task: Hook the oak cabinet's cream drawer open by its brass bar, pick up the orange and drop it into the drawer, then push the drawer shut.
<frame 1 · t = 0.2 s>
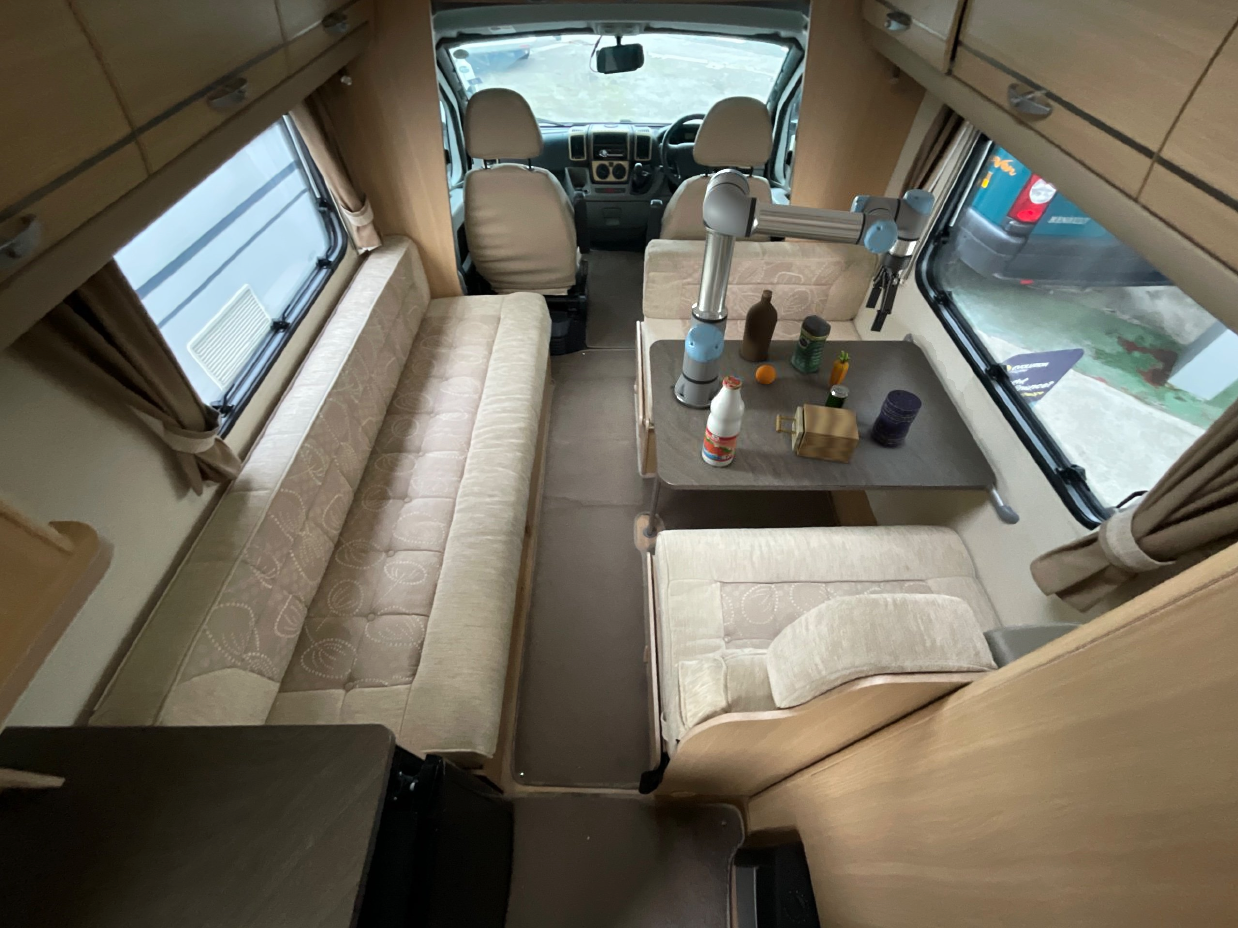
hand: (872, 319, 169), 28 cm above the table, tool pointing down, fingers open, 13 cm apart
beer can: (828, 419, 179), on the table
fruit juice: (717, 456, 166), on the table
storage jar: (885, 437, 174), on the table
orange: (765, 374, 190), point 3 cm above the table
carrot: (831, 390, 190), on the table
coffee jar: (804, 366, 199), on the table
drawer: (808, 430, 168), point 5 cm above the table, slide at 0.5 cm
olive oil: (753, 355, 204), on the table
cabinet: (821, 444, 170), on the table
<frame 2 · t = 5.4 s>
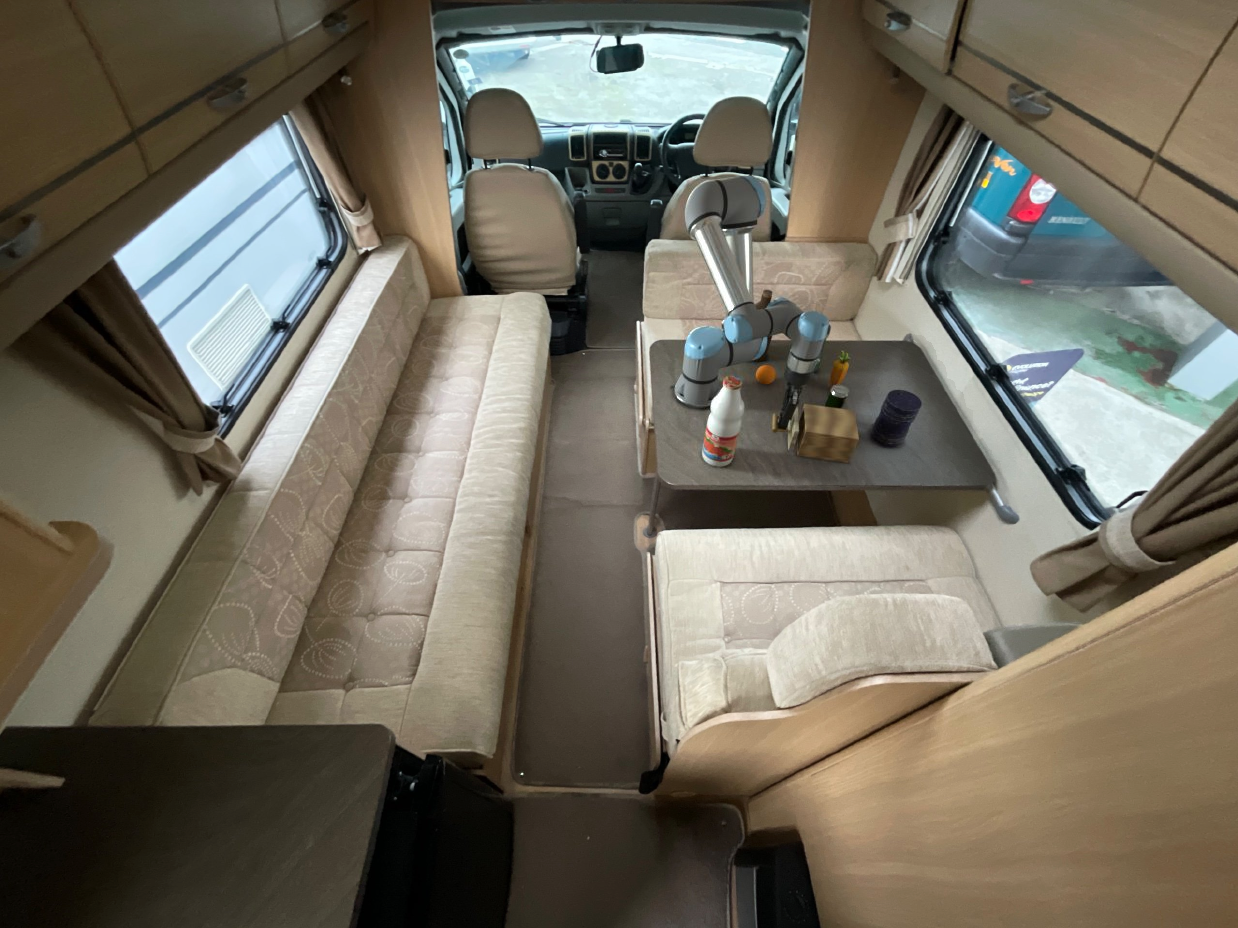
hand: (780, 430, 170), 3 cm above the table, tool pointing down, fingers closed
drawer: (804, 430, 168), point 5 cm above the table, slide at 1.7 cm
everything else where it was.
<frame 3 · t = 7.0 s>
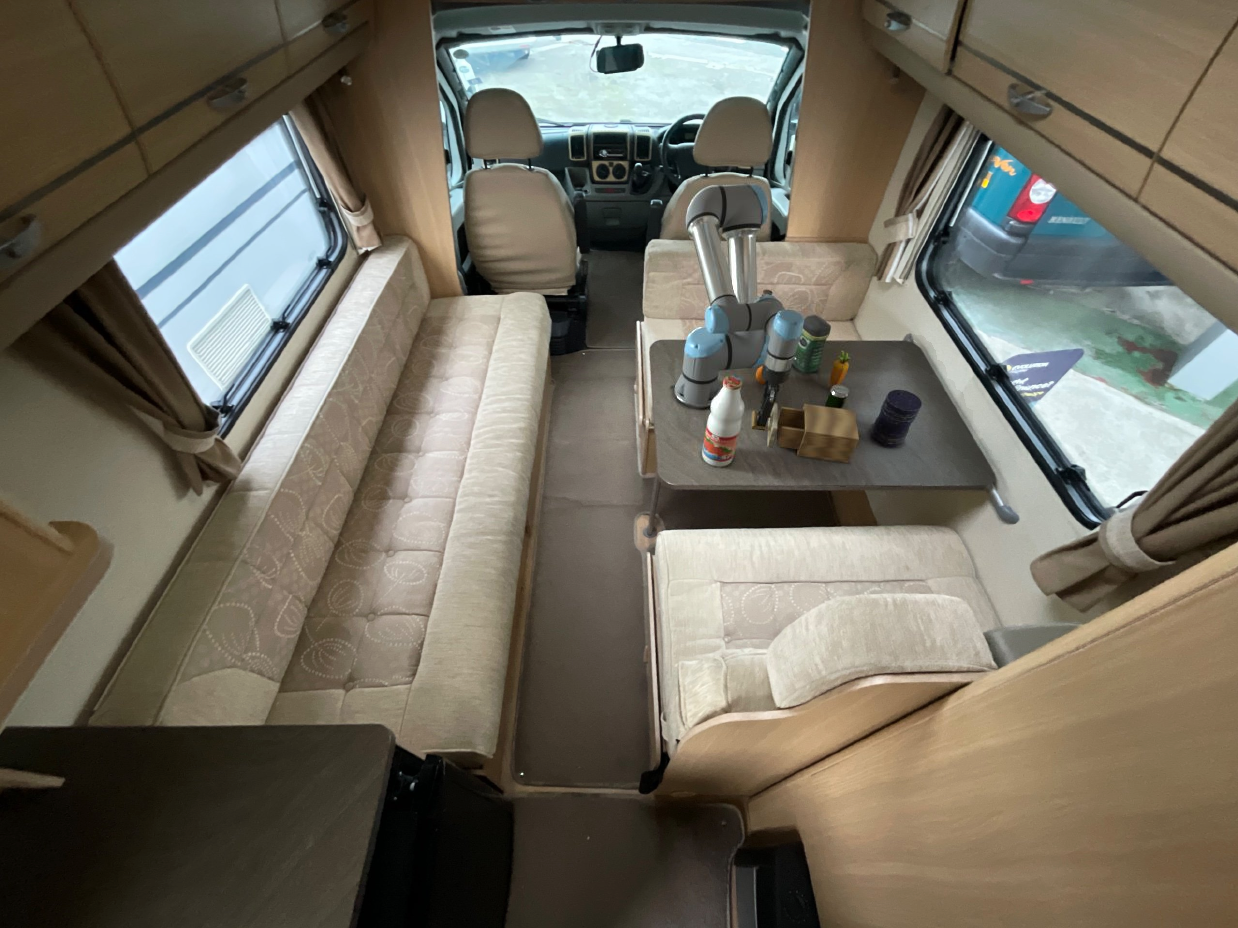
hand: (760, 428, 171), 3 cm above the table, tool pointing down, fingers closed
drawer: (783, 426, 169), point 5 cm above the table, slide at 7.9 cm
everything else where it was.
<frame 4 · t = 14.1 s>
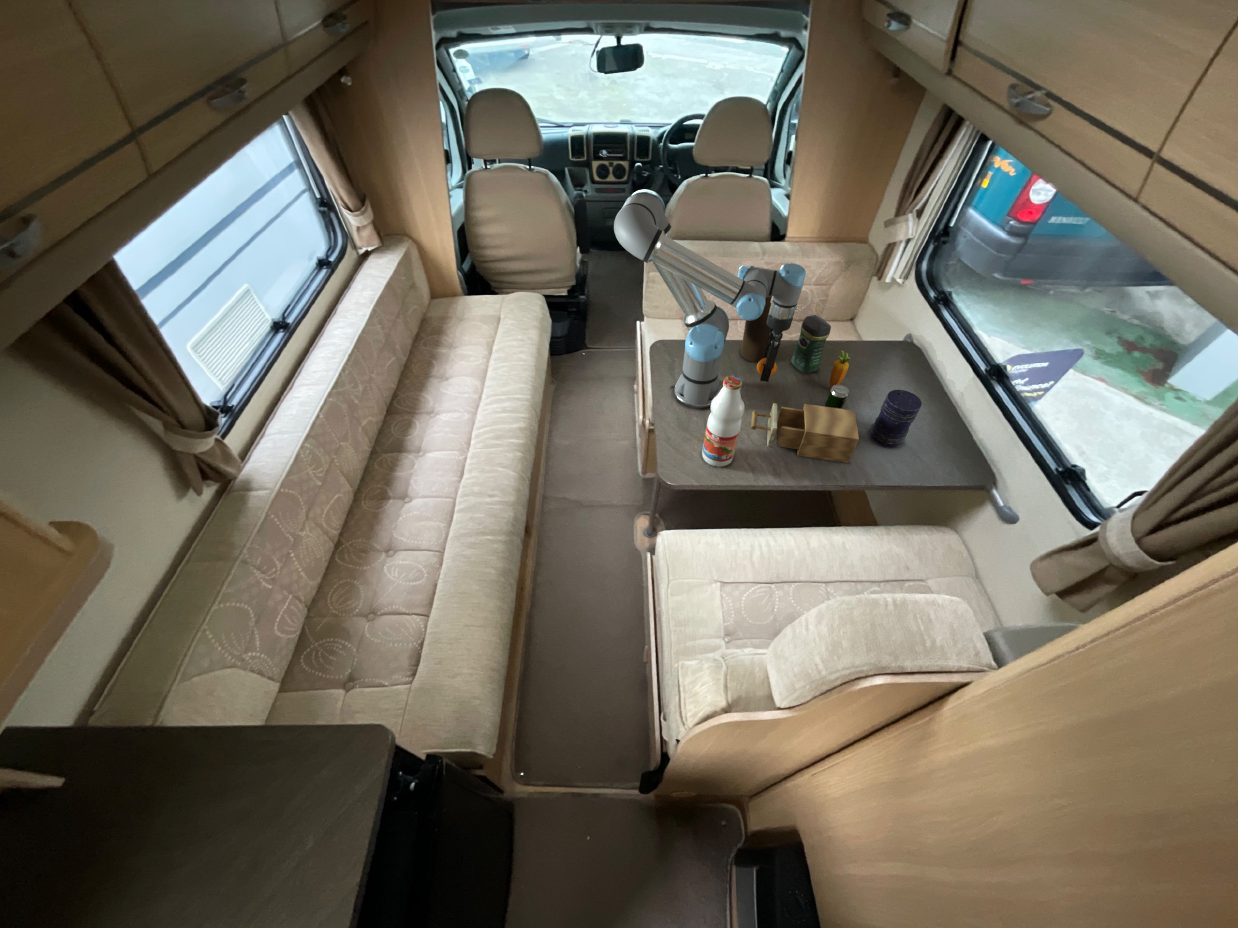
hand: (764, 374, 190), 3 cm above the table, tool pointing down, fingers closed on orange, 6 cm apart
orange: (766, 367, 188), point 6 cm above the table, touching gripper
everything else where it was.
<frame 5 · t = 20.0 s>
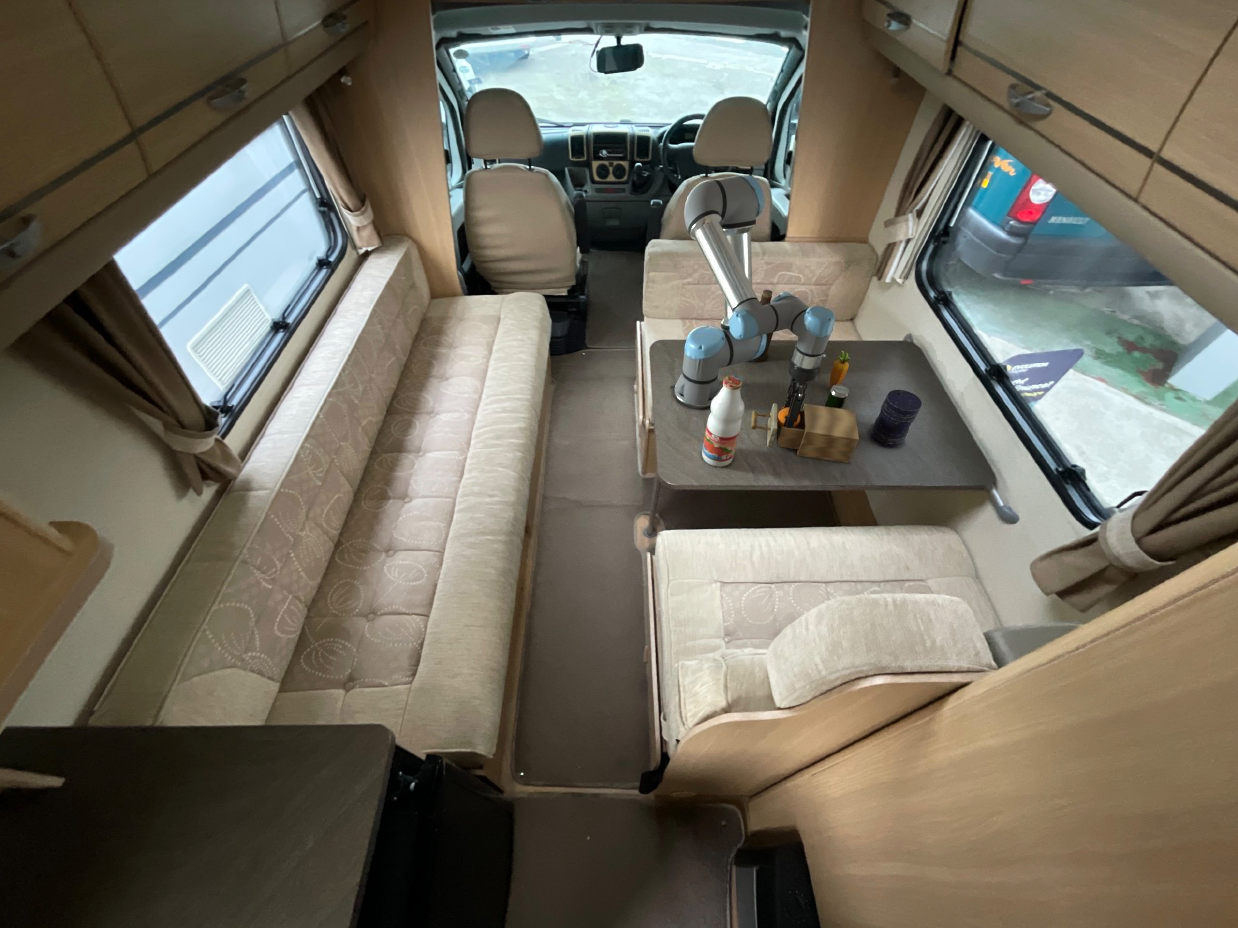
hand: (785, 425, 168), 6 cm above the table, tool pointing down, fingers closed on orange, 6 cm apart
orange: (788, 418, 166), point 8 cm above the table, touching gripper
everything else where it was.
when the fingers open (9 cm above the table, at t = 34.6 s): orange drops 6 cm, resting on drawer.
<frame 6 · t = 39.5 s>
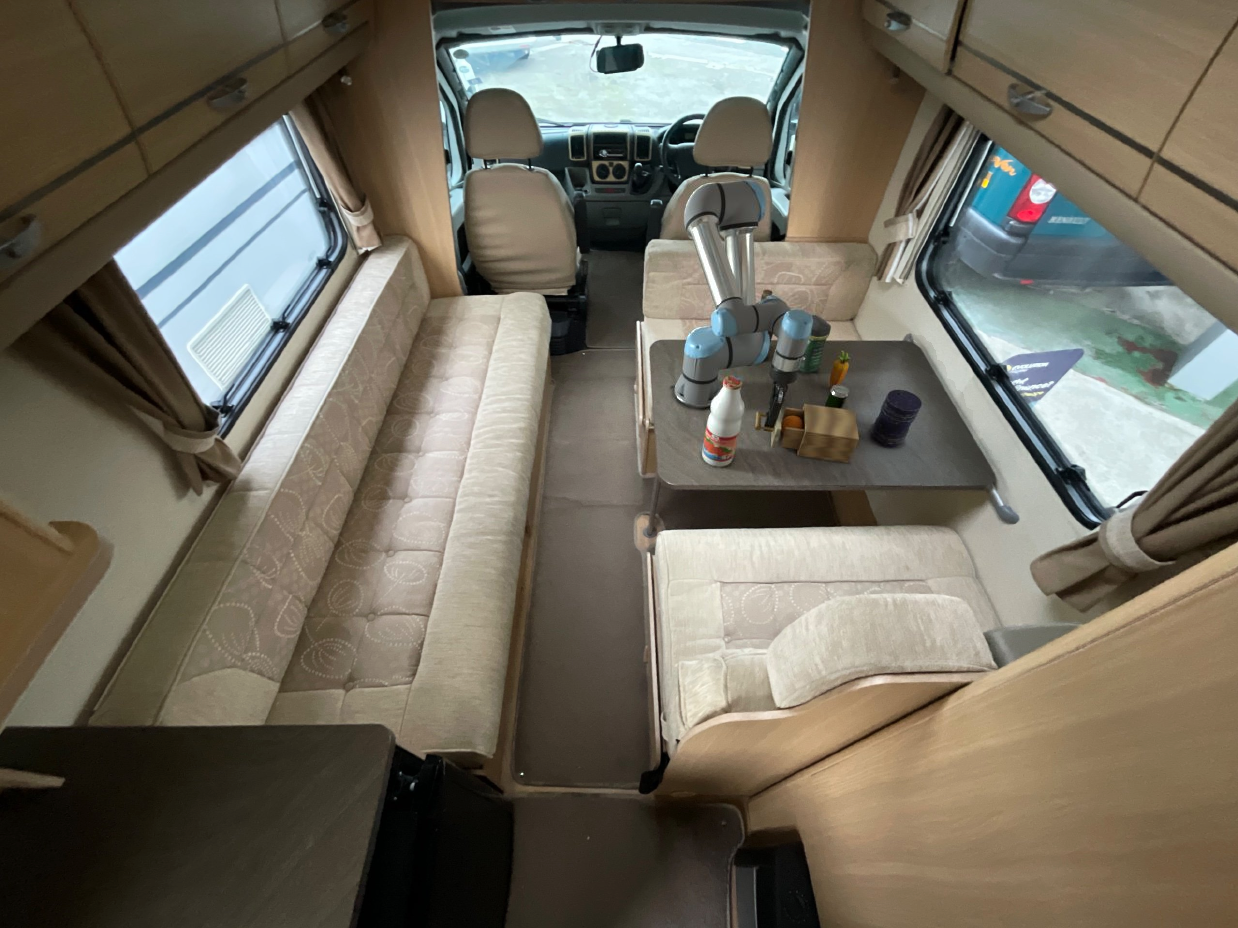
hand: (768, 429, 170), 3 cm above the table, tool pointing down, fingers closed
orange: (792, 426, 168), point 5 cm above the table, tilted 12°, touching drawer
drawer: (787, 427, 168), point 5 cm above the table, slide at 6.8 cm, touching gripper, orange
everything else where it was.
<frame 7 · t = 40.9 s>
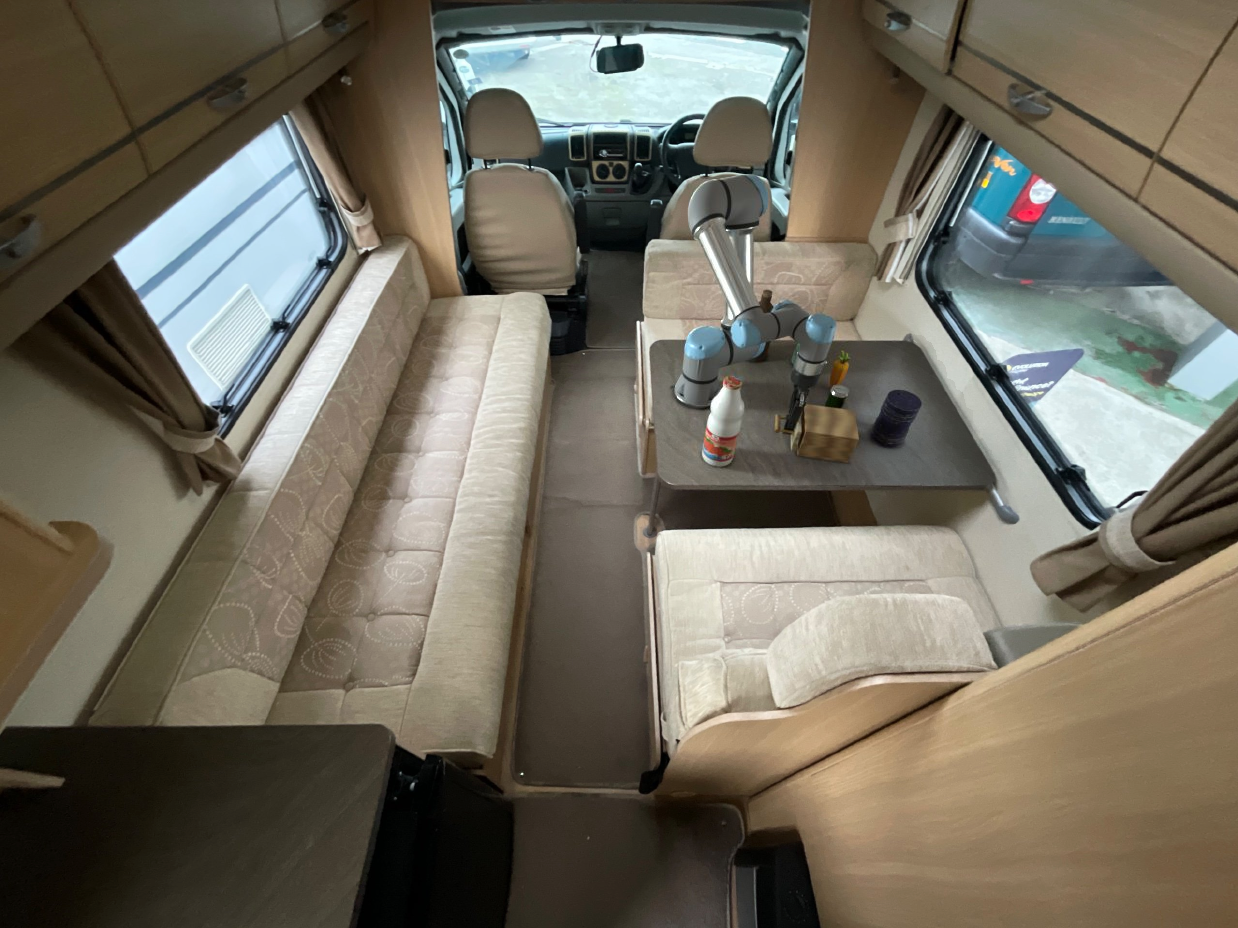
hand: (787, 432, 170), 3 cm above the table, tool pointing down, fingers closed
orange: (812, 429, 167), point 5 cm above the table, tilted 13°, touching drawer
drawer: (806, 430, 168), point 5 cm above the table, slide at 0.9 cm, touching orange
everything else where it was.
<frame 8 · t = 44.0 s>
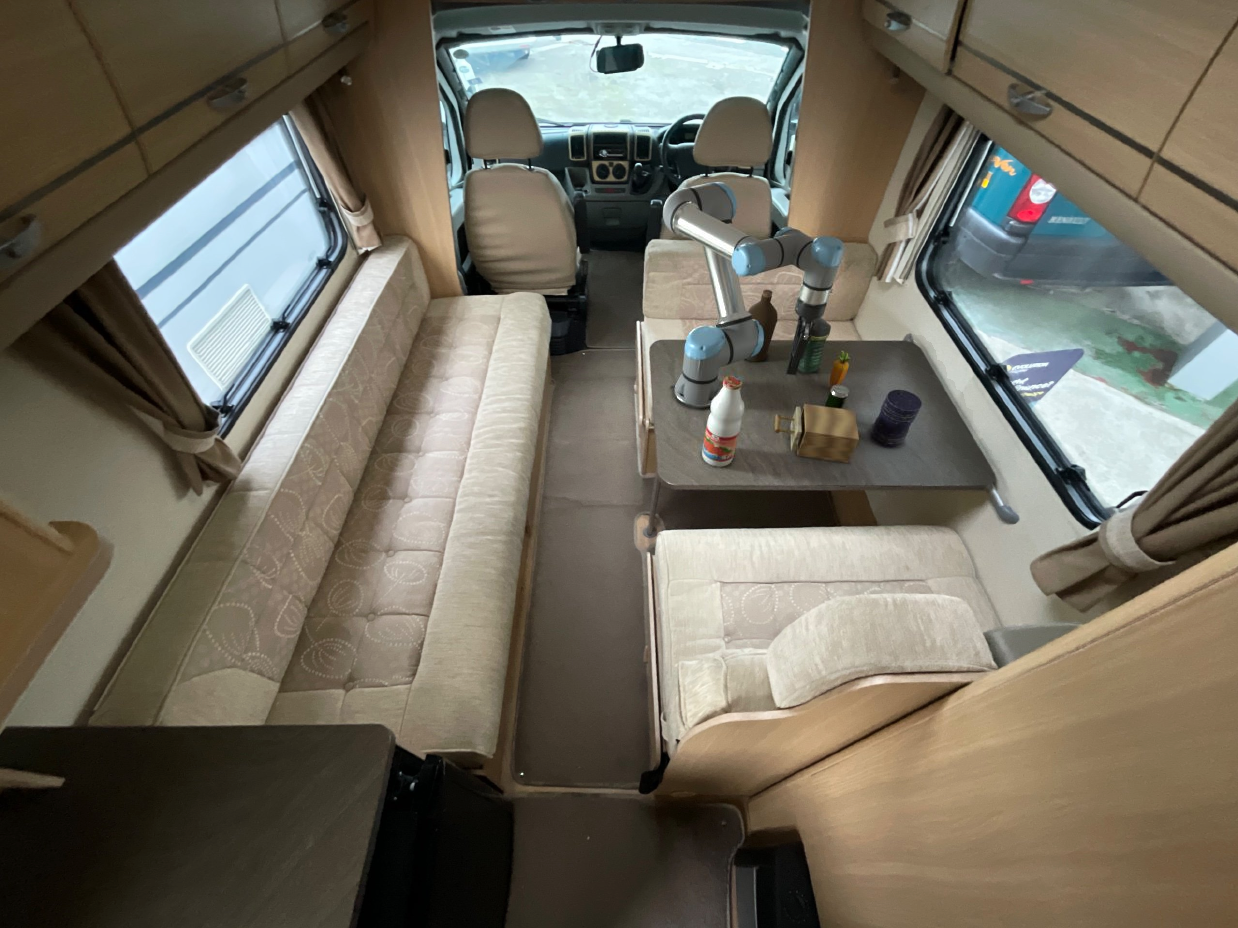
hand: (790, 373, 162), 20 cm above the table, tool pointing down, fingers closed
orange: (826, 431, 167), point 5 cm above the table, tilted 86°, touching drawer
everything else where it was.
at the end: orange inside the target area in the cabinet (0.3 cm from its centre), point 5.3 cm above the cabinet's base; drawer slide at 0.9 cm; the gripper is holding nothing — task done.
